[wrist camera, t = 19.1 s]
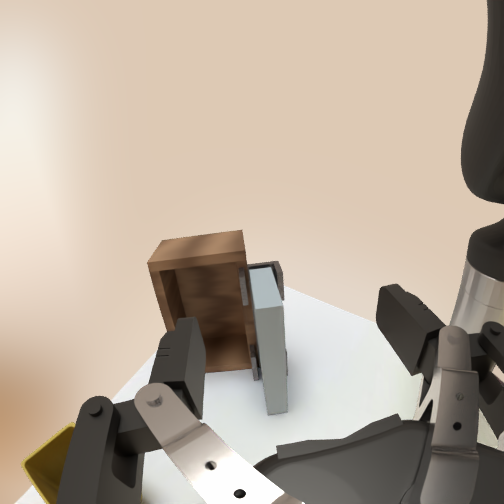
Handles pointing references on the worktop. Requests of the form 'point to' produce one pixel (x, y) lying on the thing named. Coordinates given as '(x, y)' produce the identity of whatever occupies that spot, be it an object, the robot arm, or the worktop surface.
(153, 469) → the worktop surface
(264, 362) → the door
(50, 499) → the flower pot
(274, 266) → the hinge clips
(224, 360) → the cabinet
